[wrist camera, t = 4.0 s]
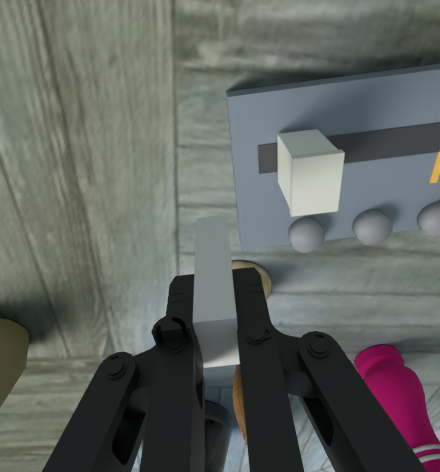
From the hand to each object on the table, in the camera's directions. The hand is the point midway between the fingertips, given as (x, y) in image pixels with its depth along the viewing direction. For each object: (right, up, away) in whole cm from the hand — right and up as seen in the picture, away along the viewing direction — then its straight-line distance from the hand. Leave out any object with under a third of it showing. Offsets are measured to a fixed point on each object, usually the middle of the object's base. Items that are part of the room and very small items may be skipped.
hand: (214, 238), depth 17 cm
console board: (+13, +7, +11) cm, 19 cm away
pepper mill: (+23, -17, +29) cm, 41 cm away
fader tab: (+6, +6, +8) cm, 12 cm away
